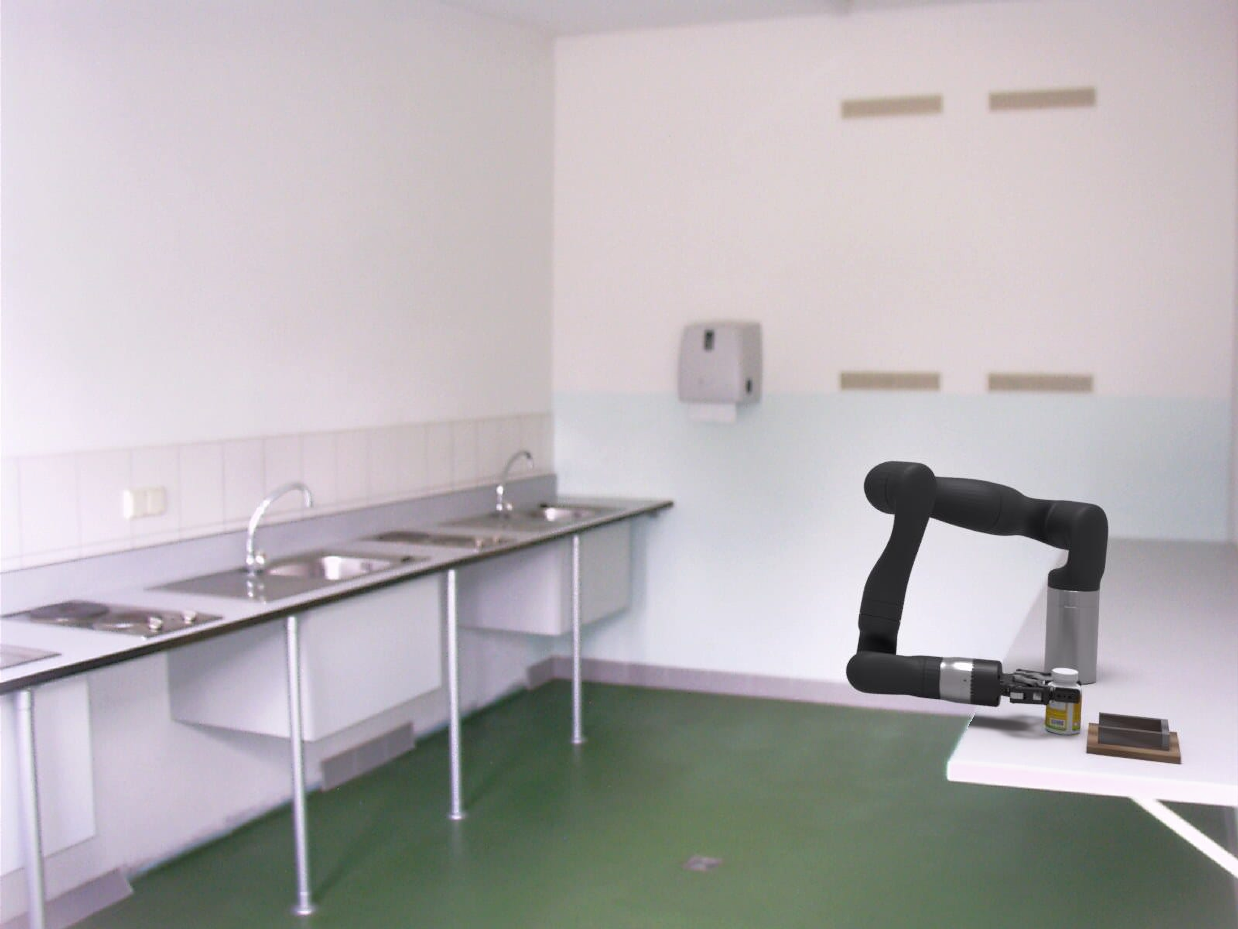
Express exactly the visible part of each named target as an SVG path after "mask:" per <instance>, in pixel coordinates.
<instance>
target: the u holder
mask: <svg viewBox="0 0 1238 929" xmlns="http://www.w3.org/2000/svg"><path fill="white" fill-rule="evenodd" d="M1086 754H1092V755H1099V756H1100V755H1101V756H1107V757H1109V756H1110V757H1117V758H1126V759H1127V758H1128V759H1135V760H1143V761H1151V762H1161V763H1168V764H1170V763H1171V764H1178V765H1181V763H1182V754H1181V750H1180V742H1179V737H1178V732H1177V731H1170V726H1169V719H1166V718H1159V717H1157V718H1156V717H1150V716H1149V717H1148V716H1139V715H1138V716H1137V715H1128V714H1127V715H1126V714H1120V713H1107V712H1100V711H1099V712H1098V723H1095V722H1088V727H1087V740H1086Z"/></svg>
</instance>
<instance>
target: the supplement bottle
mask: <svg viewBox="0 0 1238 929" xmlns="http://www.w3.org/2000/svg"><path fill="white" fill-rule="evenodd" d="M1052 679H1053V681H1052V682H1050V683H1048V685H1051V686H1054V687H1065V688H1075V689H1079V690H1080V702H1079V703H1066V702H1056V701H1055V700H1054V702H1053V703H1049V705H1045V716H1044V717H1045V718H1044V719H1045V720H1044V728H1045V729H1046V731H1048V732H1051V733H1054V734H1057V735H1058V734H1059V735H1066V736H1067V735H1068V736H1069V735H1070V736H1071V735H1076V734H1079V733H1080V731H1081V723H1082V705H1083V704H1082V703H1083V688H1082V685H1081V686H1080V685H1078V684H1077V683H1076V682H1077V681H1078V671H1076V670H1073V669H1068V668H1055V669H1053V670H1052Z"/></svg>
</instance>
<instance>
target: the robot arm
mask: <svg viewBox="0 0 1238 929" xmlns="http://www.w3.org/2000/svg"><path fill="white" fill-rule="evenodd" d="M863 491H864V492H863V493H864V495H865V498H866V500H867V501H868V503H869V504H870V505H871V506H872V507H873V508H874V509H875V510H877V511H878V512H880V513H883V514H886V515H893V524H892V530H891V532H890V536H889V539H888V541H887V543H886V546H885V548H884V549H883V551H882V553H881V555H880V556H879V558H878V559H877V561H876V562H875V564H874V566H872V569H871V571H870V573H869V574H868V576H867V579H866V581H865V583H864V584H865V585H864V587H863V591H862V596H861V597H862V598H861V601H860V607H859V613H858V618H857V619H858V620H857V626H858V627H857V628H858V631H859V635H858V639H857V640H858V642H857V646H856V652H855V654H854V655H852V656H851V657H850V658H849V660H848V662H847V663H846V668H845V676H846V679H847V682H848V683H849V684H850V686H851V687H852V688H854V689H855V690H856V691H858V692H861V693H863V694H869V695H871V694H872V695H884V696H885V695H890V696H911V697H914V698H920V699H929V700H937V701H938V700H939V701H945V702H946V701H947V702H951V703H955V704H962V705H963V704H964V705H972V706H982V707H991V708H998V707H999V706H1000V705H1001V701H1002V700H1001V699H1002V697H1006V698H1009V703H1011V704H1020V705H1021V704H1022V705H1037V706H1038V705H1039V706H1040V705H1041V706H1046V705H1049V703H1053V702H1054V700H1055V701H1056V702H1066V703H1079V702H1080V690H1079V689H1075V688H1065V687H1054V686H1051V685H1048V683H1050V682H1052V681H1053V679H1052V670H1053V669H1055V668H1068V669H1073V670H1076V671H1078V681H1077V682H1076V683H1077V684H1078V685H1080V686H1081V687H1082V685H1083V684H1084V685H1085V684H1086V685H1087V684H1091V683H1094V682H1096V681H1097V669H1098V666H1097V665H1098V644H1099V641H1098V640H1099V622H1100V621H1099V620H1100V600H1101V599H1100V593H1101V592H1100V591H1101V581H1102V578H1103V577H1104V574H1105V570H1106V561H1107V554H1108V553H1107V551H1108V541H1109V520H1108V517H1107V513H1106V512H1105V510H1104V509H1103V507H1101V506H1100V505H1097V504H1095V503H1088V502H1082V501H1075V500H1066V499H1058V500H1056V499H1043V498H1033V497H1030V496H1027V495H1024V494H1023V493H1022V492H1020V491H1019V490H1017V489H1016V488H1013V487H1011V486H1008V485H1005V484H1001V483H997V482H993V481H989V480H982V479H976V478H975V479H974V478H969V477H968V478H967V477H952V476H951V477H949V476H937V475H935V472H934V471H933V470H932V468H930V467H929V466H928V465H926V464H925V463H922V462H916V461H899V460H896V461H895V460H889V461H884V462H882V463H878V464H877V465H875V466H874V467H873V468H871V469H870V470H869V471H868V473H867V474H866V476H865V479H864V481H863ZM930 519H934V520H936V521H939V522H942V523H945V524H948V525H952V526H954V527H959V528H961V529H966V530H969V531H972V532H977V533H981V534H987V535H991V536H1000V537H1012V536H1014V537H1015V536H1020V537H1024V538H1028V539H1031V540H1034V541H1036V542H1040V543H1042V544H1044V545H1048V546H1049V547H1052V548H1055V549H1059V550H1064V551H1068V552H1067V553H1068V554H1067V559H1066V563H1064V565H1062V566H1060V567H1058V568H1053V569H1051V570H1049V572H1048V574H1047V583H1046V584H1047V589H1046V590H1047V591H1046V592H1047V593H1046V616H1045V617H1046V618H1045V638H1044V639H1045V640H1044V641H1045V643H1044V663H1043V664H1044V666H1043V667H1044V668H1043V671H1037V670H1031V669H1030V670H1029V669H1028V670H1027V669H1022V668H1017V669H1015V671H1013V673H1008V672H1007V673H1003V663H1002V661H1000V660H995V659H984V658H975V657H974V658H973V657H964V656H948V657H946V656H944V657H943V656H935V655H924V654H923V655H918V654H917V655H903V654H902V655H901V654H897V653H898V652H897V649H898V635H899V630H900V626H901V622H902V618H903V617H902V615H903V611H904V605H905V599H906V594H907V589H908V585H909V580H910V577H911V574H912V570H913V568H914V564H915V561H916V558H917V555H918V552H919V550H920V547H921V544H922V540H923V538H924V534H925V532H926V529H927V526H928V523H929V521H930Z"/></svg>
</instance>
